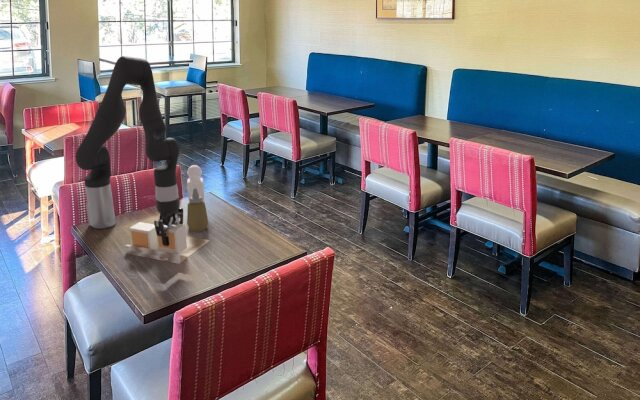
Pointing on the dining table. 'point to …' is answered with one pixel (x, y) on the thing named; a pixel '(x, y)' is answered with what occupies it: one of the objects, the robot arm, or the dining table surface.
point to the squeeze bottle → (196, 213)
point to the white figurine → (195, 181)
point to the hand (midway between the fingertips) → (171, 241)
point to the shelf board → (192, 246)
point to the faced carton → (144, 235)
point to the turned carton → (174, 239)
